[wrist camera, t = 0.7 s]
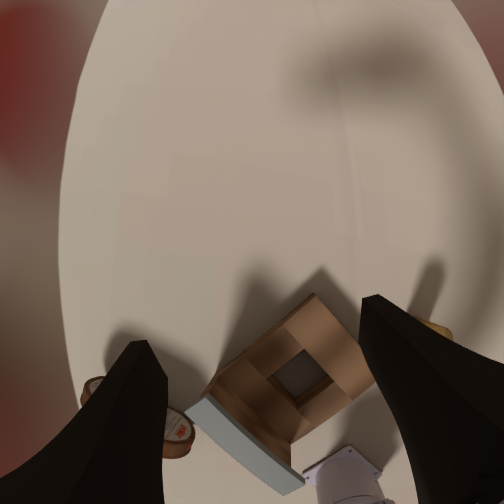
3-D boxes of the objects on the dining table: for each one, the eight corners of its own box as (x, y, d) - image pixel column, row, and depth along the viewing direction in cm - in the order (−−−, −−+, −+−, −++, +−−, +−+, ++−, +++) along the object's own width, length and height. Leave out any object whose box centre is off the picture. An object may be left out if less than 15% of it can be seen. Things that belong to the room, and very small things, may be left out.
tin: (102, 382, 33) (66, 404, 25) (106, 365, 33) (69, 385, 25) (197, 435, 32) (178, 472, 23) (205, 419, 32) (186, 455, 23)
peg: (428, 330, 30) (458, 343, 23) (408, 351, 30) (434, 368, 23) (414, 310, 30) (442, 319, 23) (393, 331, 30) (418, 346, 23)
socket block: (377, 368, 30) (414, 407, 19) (283, 439, 31) (283, 496, 20) (309, 289, 31) (324, 301, 20) (212, 370, 32) (183, 412, 21)
